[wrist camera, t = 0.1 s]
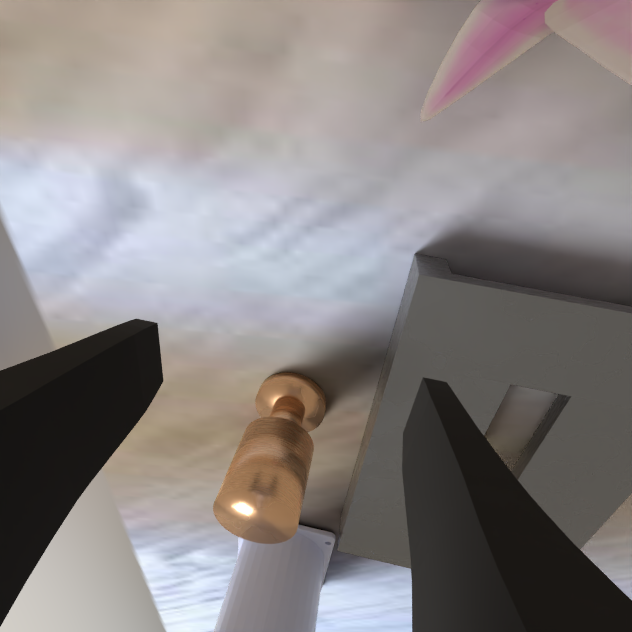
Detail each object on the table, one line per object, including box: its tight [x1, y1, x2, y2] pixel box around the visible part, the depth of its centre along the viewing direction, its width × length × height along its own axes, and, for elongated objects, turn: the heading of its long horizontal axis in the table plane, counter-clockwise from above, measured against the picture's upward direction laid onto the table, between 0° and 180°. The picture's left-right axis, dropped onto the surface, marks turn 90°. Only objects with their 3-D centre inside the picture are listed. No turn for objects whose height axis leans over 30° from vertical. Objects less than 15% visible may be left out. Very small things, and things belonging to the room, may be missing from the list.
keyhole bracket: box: [337, 254, 632, 568], centre depth 22 cm, size 22×14×3 cm, turn 173°
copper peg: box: [213, 372, 326, 544], centre depth 20 cm, size 4×4×8 cm
